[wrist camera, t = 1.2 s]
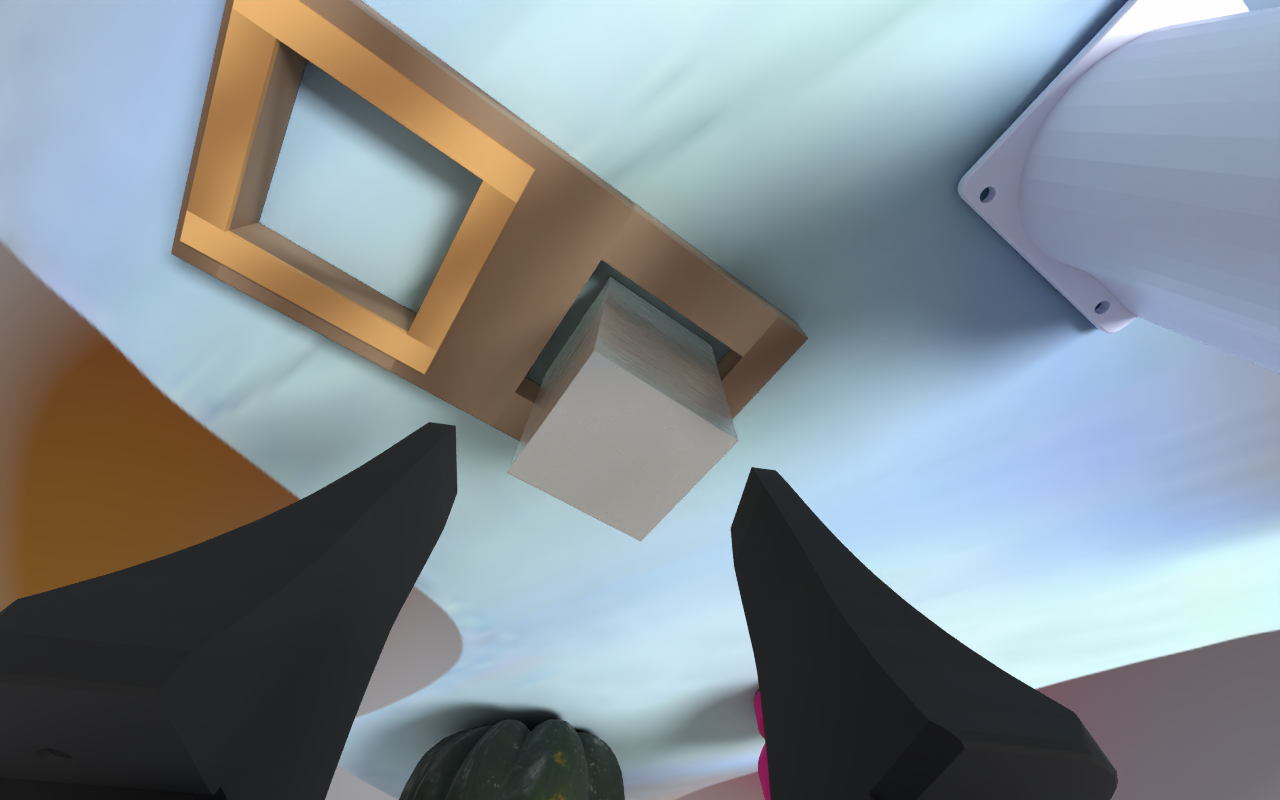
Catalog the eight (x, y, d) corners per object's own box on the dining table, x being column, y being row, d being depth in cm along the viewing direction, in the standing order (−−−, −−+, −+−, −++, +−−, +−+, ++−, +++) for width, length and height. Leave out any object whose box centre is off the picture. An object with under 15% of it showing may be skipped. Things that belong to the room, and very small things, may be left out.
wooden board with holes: (797, 324, 20) (809, 340, 19) (647, 488, 24) (647, 512, 23) (279, -60, 14) (237, -81, 13) (204, 243, 19) (166, 254, 17)
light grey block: (710, 345, 21) (738, 440, 15) (642, 427, 23) (640, 541, 17) (610, 276, 19) (594, 350, 13) (546, 371, 21) (507, 472, 15)
